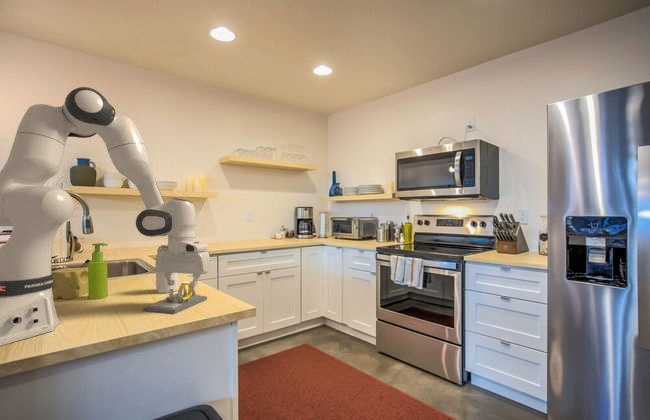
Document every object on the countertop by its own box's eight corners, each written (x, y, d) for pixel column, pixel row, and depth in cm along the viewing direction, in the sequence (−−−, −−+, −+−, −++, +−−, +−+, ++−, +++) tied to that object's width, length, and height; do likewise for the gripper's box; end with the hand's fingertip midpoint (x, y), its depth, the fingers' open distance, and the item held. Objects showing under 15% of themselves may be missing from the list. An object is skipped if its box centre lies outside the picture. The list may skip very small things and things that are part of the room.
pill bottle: (151, 292, 130) (151, 253, 130) (169, 287, 137) (169, 251, 137) (165, 294, 127) (164, 254, 126) (183, 289, 134) (182, 252, 133)
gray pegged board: (175, 313, 103) (174, 296, 103) (143, 310, 107) (143, 294, 107) (206, 299, 119) (206, 285, 119) (178, 297, 122) (178, 283, 122)
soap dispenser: (100, 299, 120) (99, 244, 120) (84, 299, 121) (83, 244, 121) (113, 295, 126) (112, 242, 125) (98, 294, 127) (97, 242, 127)
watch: (183, 302, 112) (183, 285, 112) (175, 301, 113) (175, 284, 113) (194, 296, 118) (194, 280, 118) (187, 295, 119) (187, 279, 118)
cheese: (71, 299, 121) (71, 272, 121) (42, 299, 121) (41, 272, 121) (92, 292, 132) (91, 266, 131) (65, 292, 132) (64, 267, 132)
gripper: (150, 245, 115) (150, 286, 115) (200, 247, 109) (201, 289, 109) (164, 244, 121) (164, 282, 121) (212, 245, 115) (213, 285, 115)
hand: (182, 286), depth 115 cm, fingers open, 8 cm apart
